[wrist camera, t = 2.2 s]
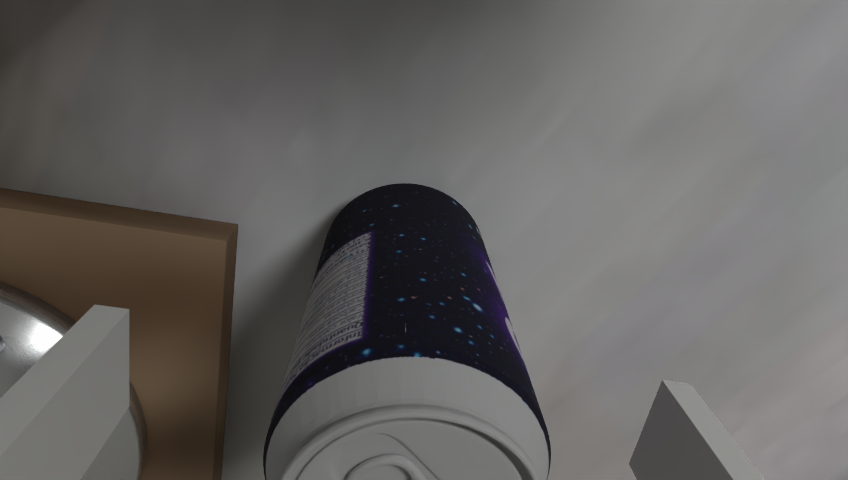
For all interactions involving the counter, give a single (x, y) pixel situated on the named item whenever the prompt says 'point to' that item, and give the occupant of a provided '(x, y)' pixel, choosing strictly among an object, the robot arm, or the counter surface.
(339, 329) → the beverage can
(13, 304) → the flange
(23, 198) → the base plate
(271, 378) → the counter surface
